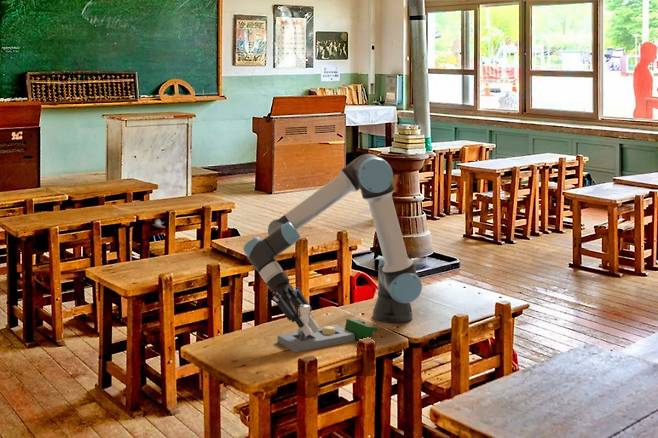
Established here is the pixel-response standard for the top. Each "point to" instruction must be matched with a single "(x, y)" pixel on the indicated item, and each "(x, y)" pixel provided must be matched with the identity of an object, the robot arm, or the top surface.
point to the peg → (305, 313)
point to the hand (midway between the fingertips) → (313, 332)
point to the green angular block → (360, 328)
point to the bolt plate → (317, 338)
